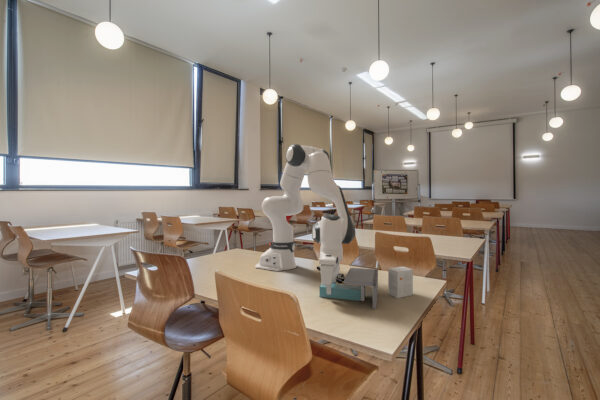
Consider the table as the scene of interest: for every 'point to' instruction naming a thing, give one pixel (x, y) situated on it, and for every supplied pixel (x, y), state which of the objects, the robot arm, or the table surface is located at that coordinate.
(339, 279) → the black toy gun
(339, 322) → the table surface
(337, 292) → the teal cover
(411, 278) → the small box
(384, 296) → the table surface
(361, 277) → the overhang shelf
